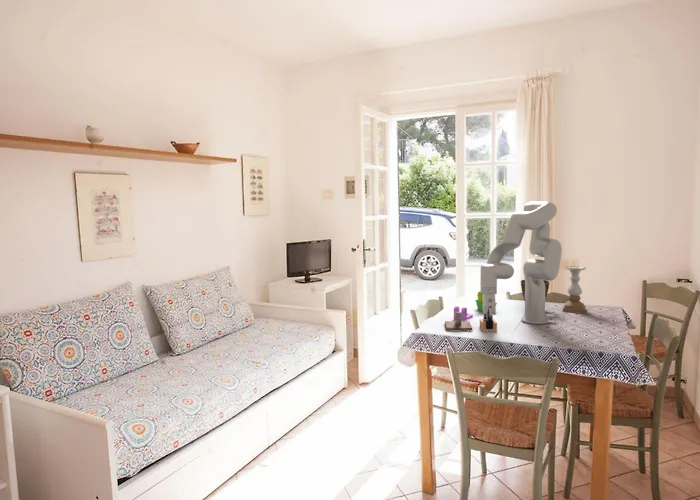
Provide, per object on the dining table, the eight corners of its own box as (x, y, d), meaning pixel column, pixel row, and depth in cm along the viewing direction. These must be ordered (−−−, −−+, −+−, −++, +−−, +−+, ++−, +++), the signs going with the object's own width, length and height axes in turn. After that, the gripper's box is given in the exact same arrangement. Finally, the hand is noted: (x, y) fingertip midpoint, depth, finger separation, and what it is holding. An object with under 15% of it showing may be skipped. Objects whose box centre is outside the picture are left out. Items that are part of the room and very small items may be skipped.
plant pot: (553, 312, 263) (553, 283, 261) (525, 313, 263) (525, 284, 262) (542, 306, 278) (543, 278, 276) (516, 307, 278) (516, 279, 276)
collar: (494, 327, 238) (494, 319, 238) (496, 331, 231) (497, 322, 231) (479, 326, 239) (479, 318, 238) (481, 330, 232) (481, 322, 231)
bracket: (463, 321, 250) (463, 308, 249) (453, 320, 253) (453, 306, 253) (474, 316, 260) (474, 303, 259) (464, 315, 264) (464, 302, 263)
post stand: (469, 324, 244) (469, 309, 243) (472, 331, 232) (472, 315, 231) (444, 324, 245) (444, 309, 244) (446, 330, 233) (446, 315, 233)
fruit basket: (497, 312, 267) (497, 291, 266) (482, 313, 265) (483, 293, 264) (486, 307, 278) (486, 288, 277) (472, 309, 276) (472, 289, 275)
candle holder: (585, 308, 270) (586, 266, 268) (584, 313, 261) (586, 269, 258) (564, 307, 275) (565, 265, 273) (562, 311, 266) (563, 268, 263)
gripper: (499, 293, 224) (499, 331, 226) (493, 286, 241) (493, 322, 243) (483, 293, 225) (482, 331, 227) (477, 286, 242) (477, 321, 244)
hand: (488, 326), depth 235 cm, fingers closed on collar, 7 cm apart
